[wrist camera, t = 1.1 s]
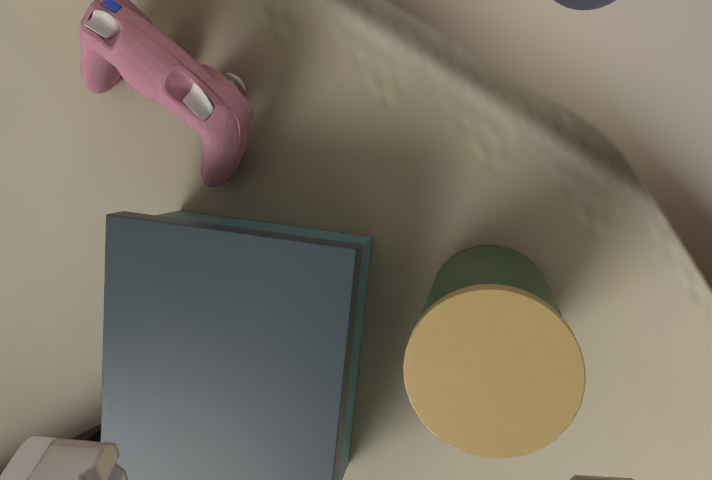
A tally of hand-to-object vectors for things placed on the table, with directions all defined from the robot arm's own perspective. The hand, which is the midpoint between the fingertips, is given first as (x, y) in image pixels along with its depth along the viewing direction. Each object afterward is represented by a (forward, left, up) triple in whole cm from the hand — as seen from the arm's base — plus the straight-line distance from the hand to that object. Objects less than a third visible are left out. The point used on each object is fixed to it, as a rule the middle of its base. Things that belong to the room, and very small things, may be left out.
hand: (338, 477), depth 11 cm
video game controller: (-7, -14, -21) cm, 26 cm away
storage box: (+6, -9, -20) cm, 23 cm away
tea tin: (+2, +3, -20) cm, 21 cm away
